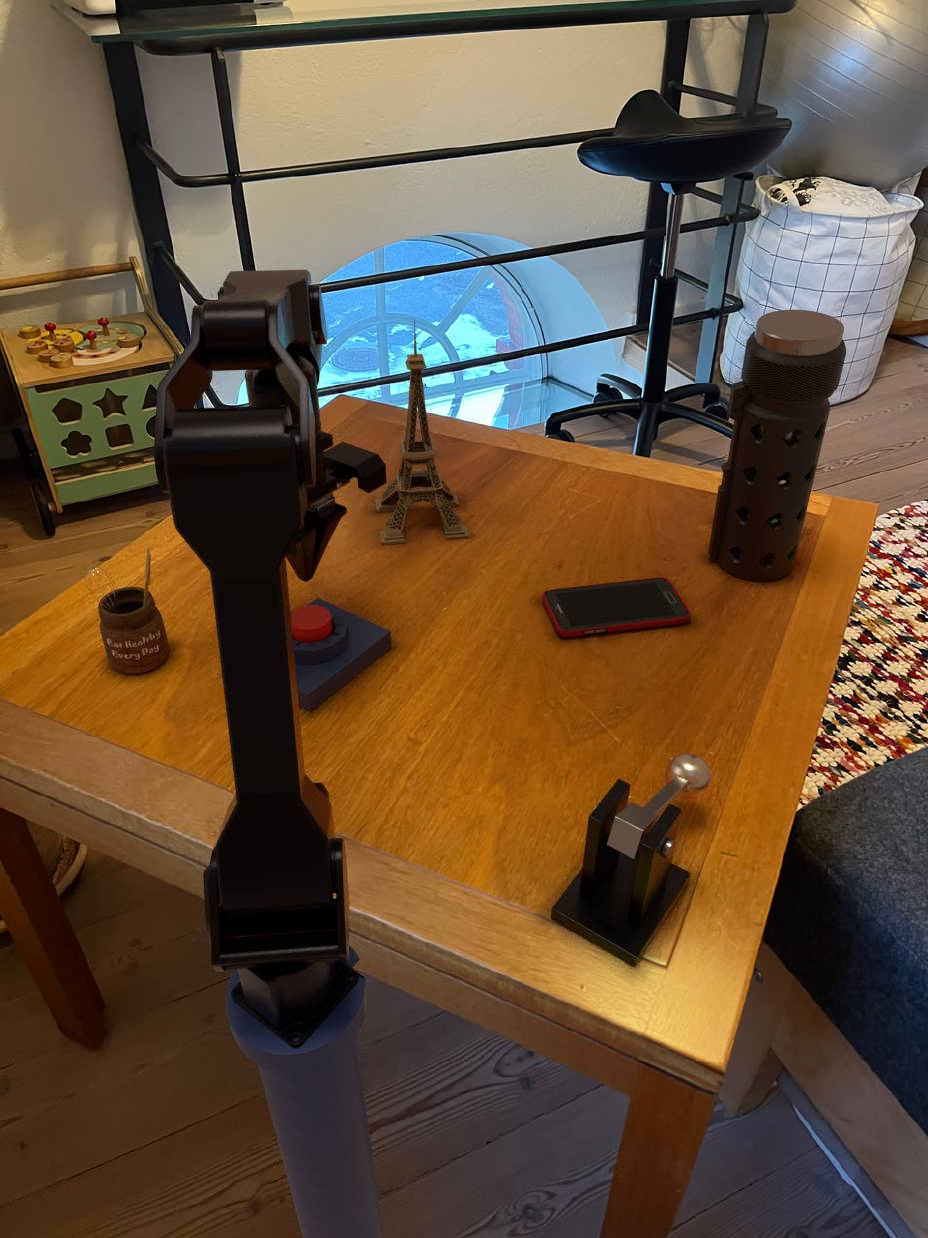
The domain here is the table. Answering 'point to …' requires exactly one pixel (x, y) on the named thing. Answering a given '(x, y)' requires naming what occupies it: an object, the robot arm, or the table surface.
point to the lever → (659, 803)
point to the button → (311, 624)
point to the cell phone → (615, 607)
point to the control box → (336, 655)
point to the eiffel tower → (410, 478)
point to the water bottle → (775, 441)
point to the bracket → (623, 883)
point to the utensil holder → (132, 627)
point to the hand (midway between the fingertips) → (305, 578)
